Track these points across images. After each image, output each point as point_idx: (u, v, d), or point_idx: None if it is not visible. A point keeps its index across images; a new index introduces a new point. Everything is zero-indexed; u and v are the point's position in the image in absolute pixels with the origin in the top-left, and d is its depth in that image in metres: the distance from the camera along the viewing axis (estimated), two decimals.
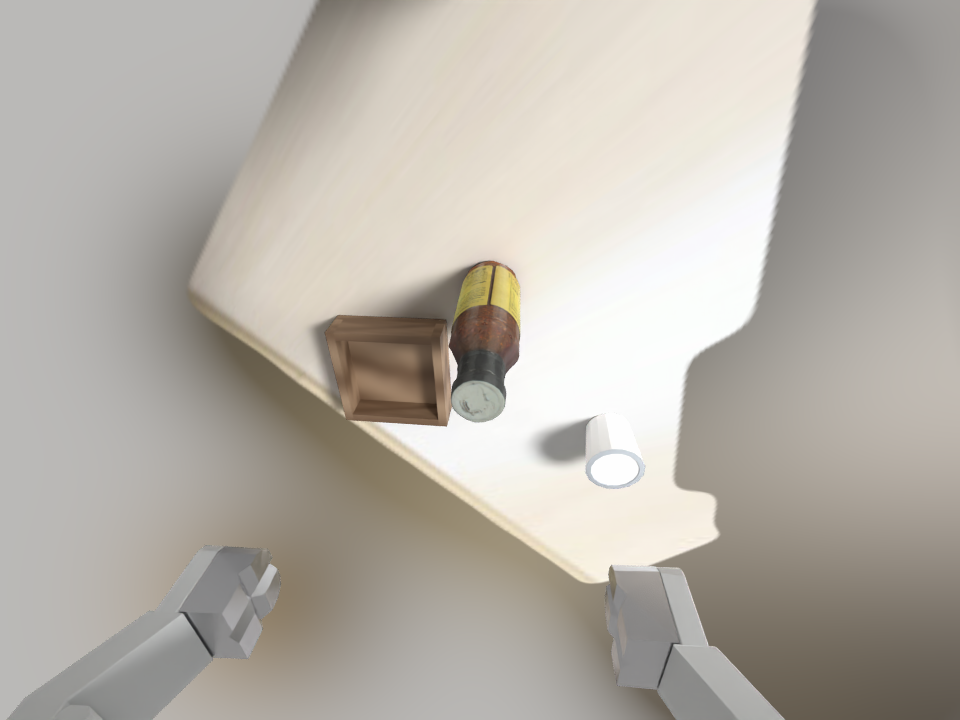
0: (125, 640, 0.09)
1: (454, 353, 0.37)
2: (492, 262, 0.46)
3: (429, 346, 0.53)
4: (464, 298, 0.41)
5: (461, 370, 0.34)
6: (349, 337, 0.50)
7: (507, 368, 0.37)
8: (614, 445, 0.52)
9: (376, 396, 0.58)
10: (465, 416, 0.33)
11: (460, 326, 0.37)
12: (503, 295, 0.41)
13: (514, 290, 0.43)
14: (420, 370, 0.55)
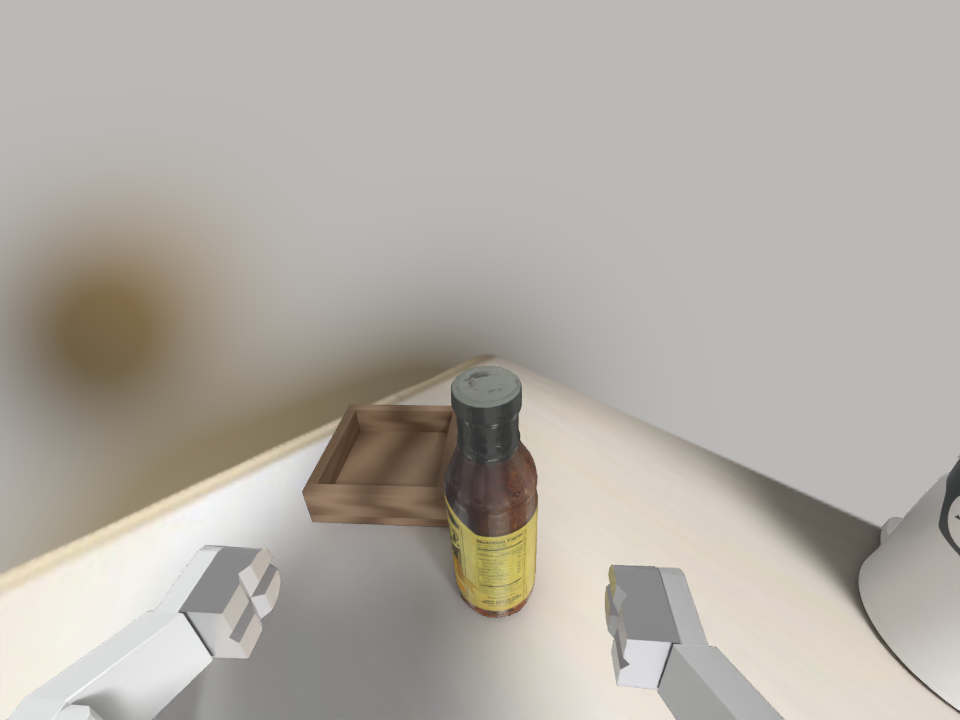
0: (125, 640, 0.09)
1: None
2: None
3: None
4: None
5: None
6: (455, 421, 0.48)
7: (480, 472, 0.26)
8: None
9: (359, 444, 0.50)
10: (463, 374, 0.26)
11: None
12: (531, 540, 0.30)
13: (518, 579, 0.31)
14: None
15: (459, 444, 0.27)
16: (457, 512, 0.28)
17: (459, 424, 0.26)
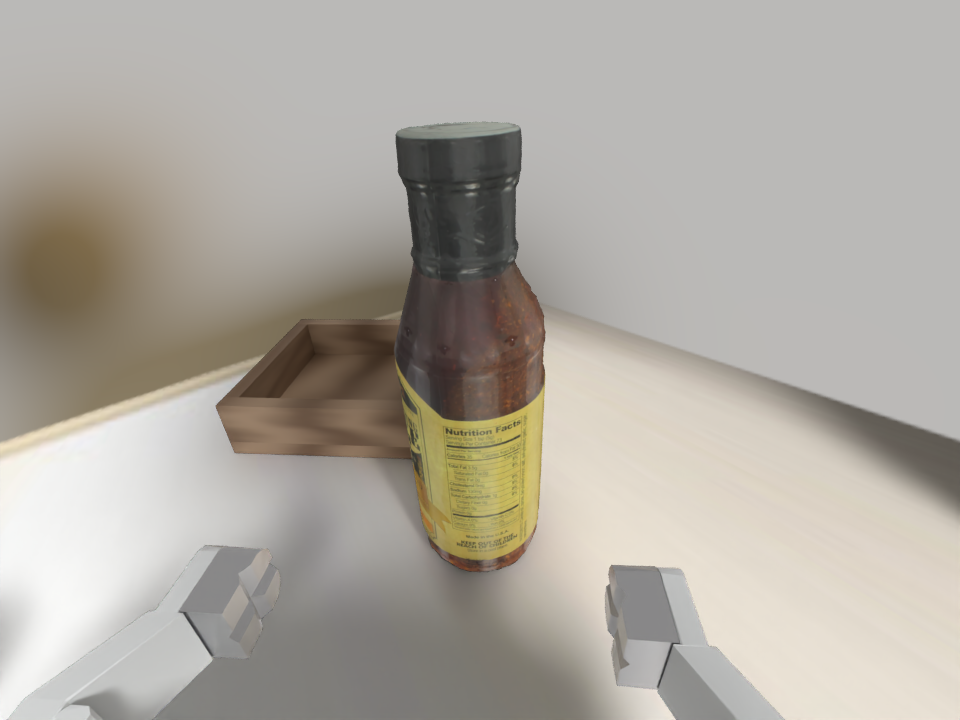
0: (125, 640, 0.09)
1: None
2: None
3: None
4: None
5: None
6: None
7: (449, 296, 0.15)
8: None
9: (311, 367, 0.39)
10: (421, 126, 0.15)
11: None
12: (535, 442, 0.19)
13: (513, 506, 0.20)
14: None
15: (414, 254, 0.16)
16: (413, 381, 0.17)
17: (411, 205, 0.15)
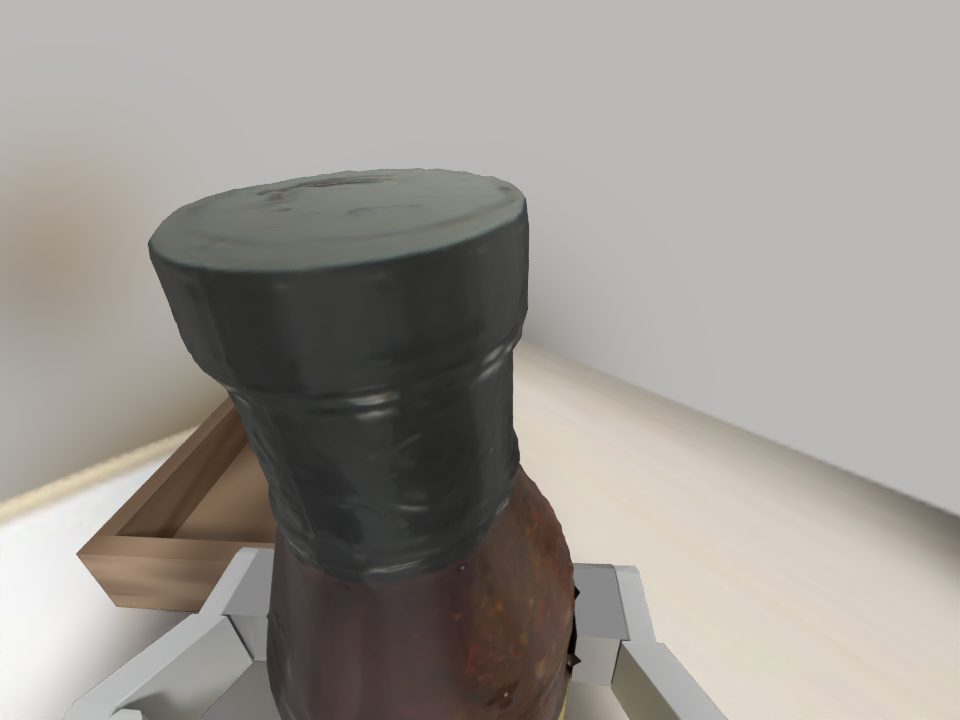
0: (171, 643, 0.09)
1: None
2: None
3: None
4: None
5: None
6: None
7: (345, 615, 0.06)
8: None
9: (247, 454, 0.29)
10: (272, 184, 0.06)
11: None
12: None
13: None
14: (267, 538, 0.24)
15: (268, 487, 0.06)
16: None
17: None
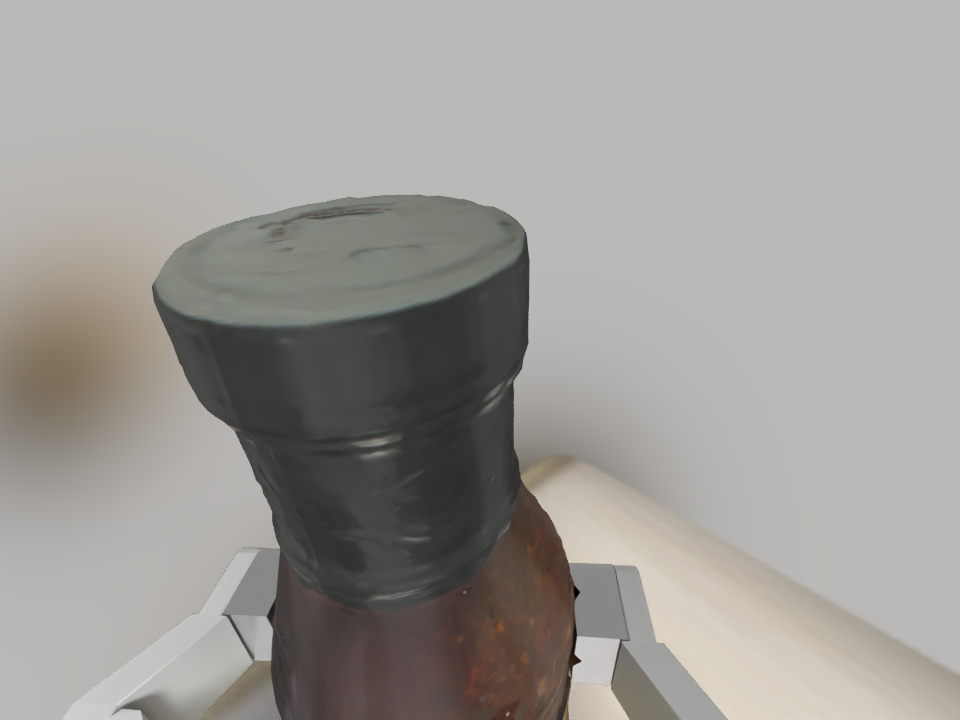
0: (171, 643, 0.09)
1: None
2: None
3: None
4: None
5: None
6: None
7: (349, 640, 0.06)
8: None
9: None
10: (273, 214, 0.06)
11: None
12: None
13: None
14: None
15: (272, 512, 0.07)
16: None
17: None
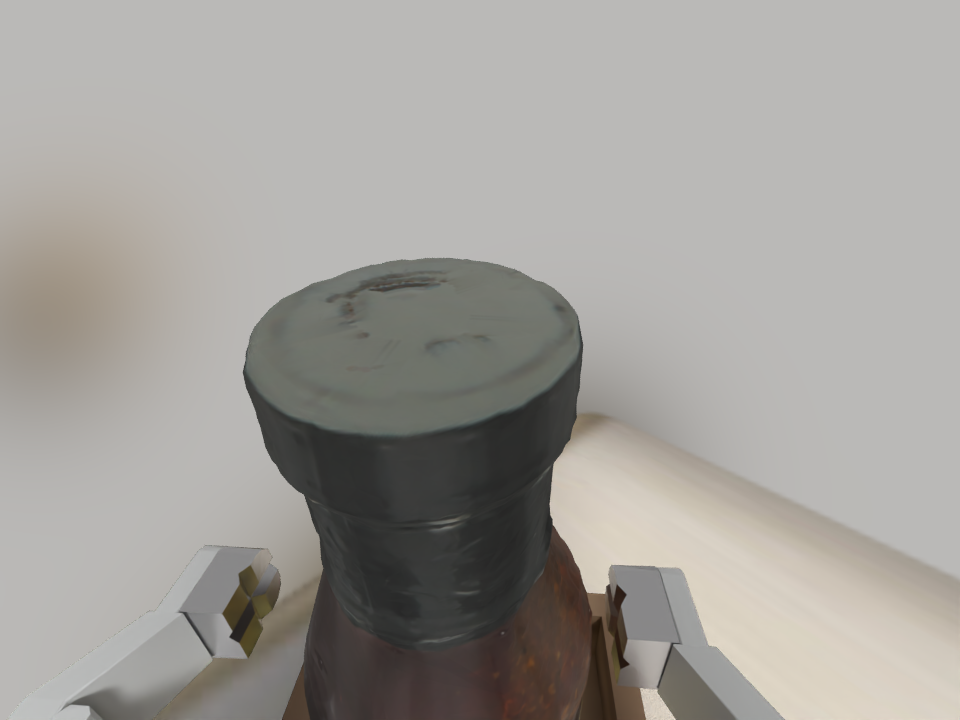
0: (125, 640, 0.09)
1: None
2: None
3: None
4: None
5: None
6: None
7: (396, 675, 0.07)
8: None
9: None
10: (334, 281, 0.06)
11: None
12: None
13: None
14: None
15: (322, 553, 0.07)
16: None
17: None
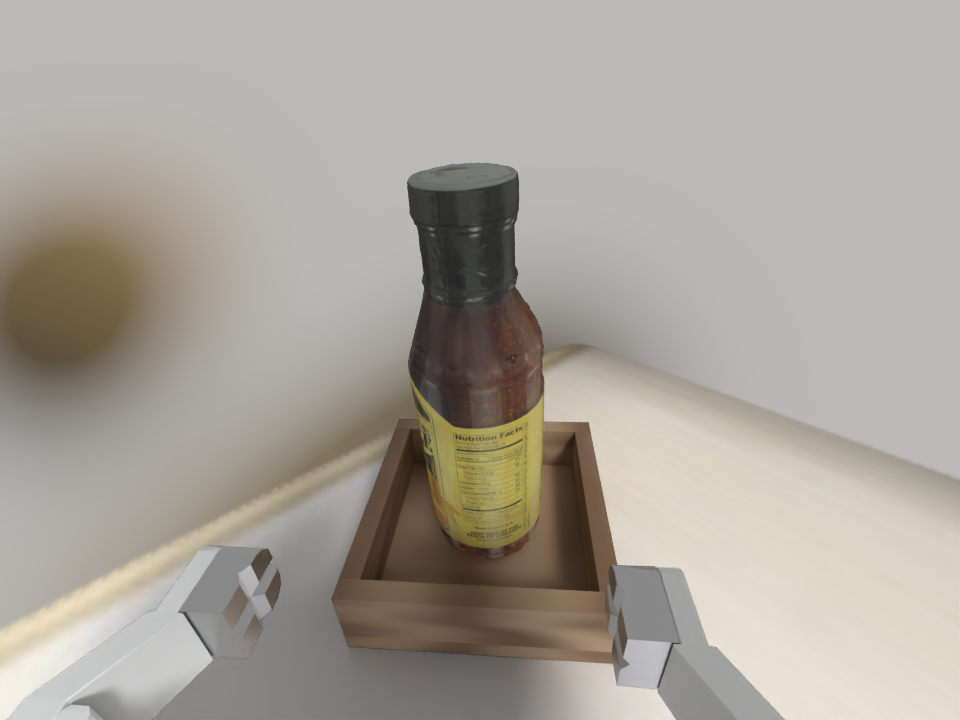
0: (125, 640, 0.09)
1: None
2: None
3: None
4: None
5: None
6: (585, 450, 0.28)
7: (456, 321, 0.17)
8: None
9: (418, 485, 0.30)
10: (429, 170, 0.17)
11: None
12: (535, 444, 0.21)
13: (517, 501, 0.22)
14: (478, 576, 0.24)
15: (425, 283, 0.18)
16: (426, 393, 0.19)
17: (422, 242, 0.17)
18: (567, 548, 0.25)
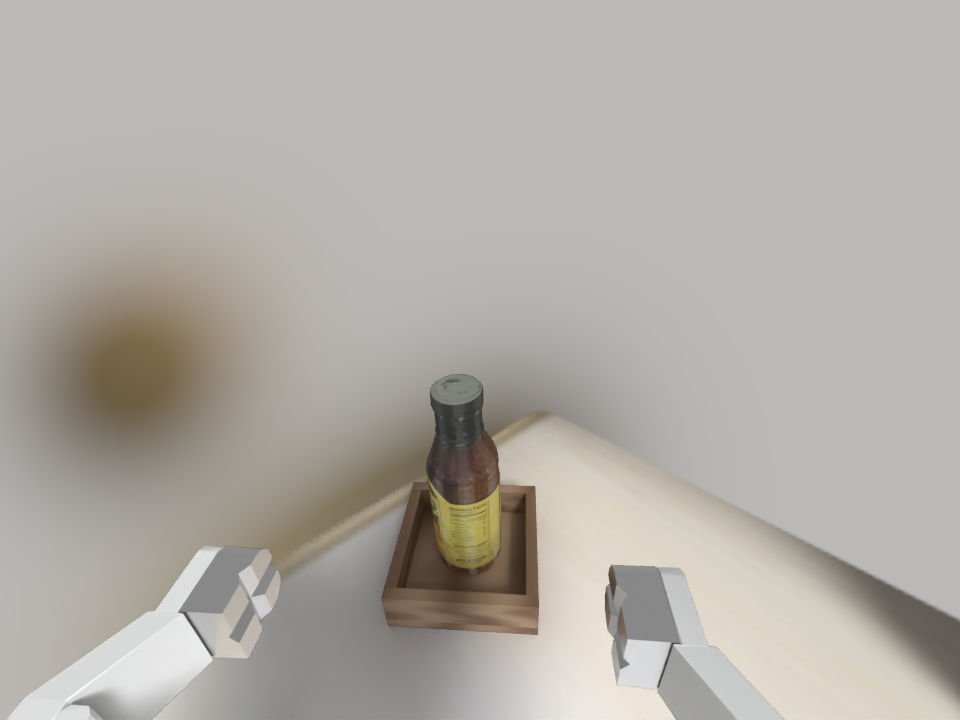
0: (125, 640, 0.09)
1: None
2: (500, 547, 0.43)
3: None
4: None
5: None
6: (530, 506, 0.45)
7: (452, 454, 0.35)
8: None
9: (426, 526, 0.47)
10: (440, 380, 0.35)
11: None
12: (494, 511, 0.39)
13: (484, 541, 0.39)
14: (462, 585, 0.41)
15: (436, 433, 0.35)
16: (435, 486, 0.36)
17: (436, 417, 0.34)
18: (516, 568, 0.42)
